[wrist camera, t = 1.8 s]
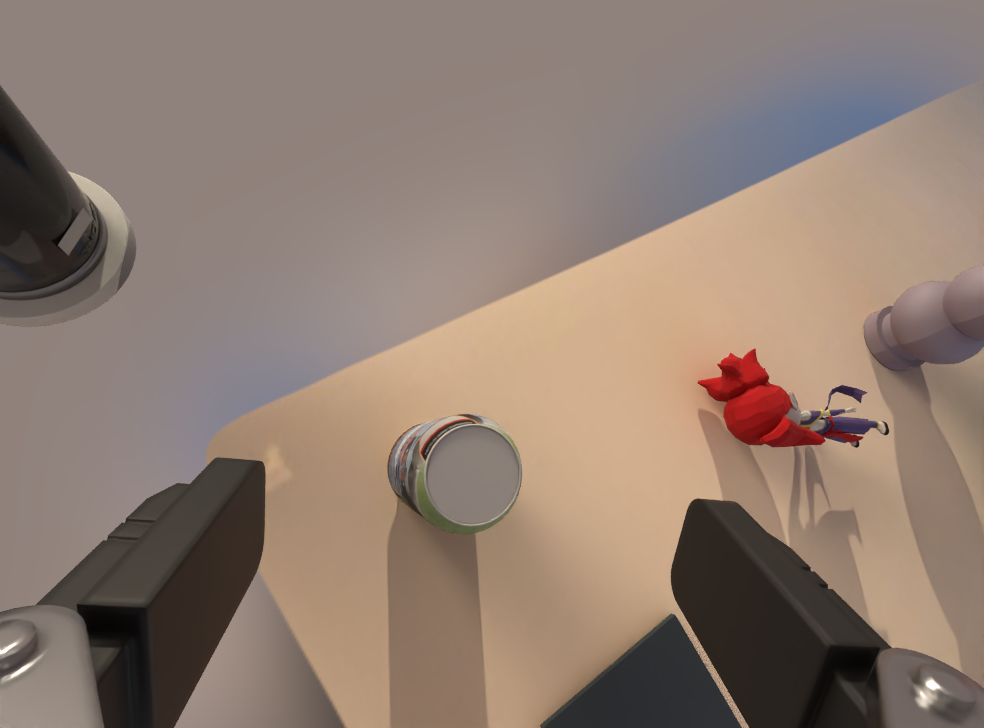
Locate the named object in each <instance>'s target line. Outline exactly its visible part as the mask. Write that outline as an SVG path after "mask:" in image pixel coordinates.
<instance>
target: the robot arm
mask: <svg viewBox="0 0 984 728" xmlns="http://www.w3.org/2000/svg"><path fill="white" fill-rule="evenodd" d="M107 241H108V232H107V226H106V223H105V220H104V218H103V216H102V214H101V212H100V211H99V209H98V208H97V207H96V205H95V204H94V203H93V201H92V200H91V199H90V198H89V197H88V196H87V195H86V194H85V193H84V192H83V191H82V190H81V189H80V187H79V186H78V185H77V184H76V182H75V181H74V180H73V178H72V177H71V175H70V174H69V173H68V172H67V170H66V169H65V168H64V167H63V165H62V164H61V163H60V161H59V160H58V159H57V158H56V156H55V155H54V154H53V152H52V151H51V150H50V149H49V147H48V146H47V145H46V144H45V142H44V141H43V140H42V138H41V137H40V136H39V134H38V133H37V132H36V131H35V129H34V128H33V127H32V125H31V124H30V123H29V122H28V120H27V119H26V118H25V117H24V115H23V114H22V113H21V111H20V110H19V109H18V108H17V106H16V105H15V104H14V102H13V101H12V100H11V99H10V97H9V96H8V95H7V93H6V92H5V91H4V90H3V88H2V87H1V86H0V299H6V300H33V299H40V298H45V297H49V296H52V295H56V294H58V293H61V292H63V291H66V290H68V289H70V288H72V287H73V286H75V285H77V284H78V283H80V282H81V281H83V280H84V279H85V278H86V277H87V276H89V275H90V274H91V273H92V272H93V270H94V269H95V268H96V267H97V266H98V264H99V263H100V261H101V259H102V257H103V255H104V253H105V250H106V247H107ZM264 528H265V466H264V463H263V462H262V461H255V460H243V459H231V458H215V459H214V460H213V461H212V462H211V463H210V464H209V465H208V466H207V467H206V468H205V469H204V470H203V471H202V472H201V473H200V474H199V475H198V476H197V477H196V478H195V480H194V481H193V482H192V483H191V484H181V483H177V484H175V485H173V486H171V487H169V488H167V489H165V490H163V491H161V492H159V493H157V494H155V495H153V496H151V497H149V498H147V499H146V500H145V501H144V502H143V503H142V504H141V505H140V506H139V507H138V508H137V509H136V510H135V511H134V512H133V513H132V514H130V516H128V517H127V518H126V522H125V523H121V524H120V525H119V526H118V527H117V528H116V529H115V530H114V531H113V532H112V533H111V534H109V535H108V539H107V541H102V542H101V543H100V544H99V545H98V546H97V547H96V548H95V549H94V550H93V551H92V552H91V553H90V554H88V555H87V556H86V557H85V558H84V559H83V560H82V561H81V562H80V563H79V564H78V565H77V566H76V567H75V568H74V569H73V570H72V571H71V572H70V573H69V574H67V576H65V577H64V578H63V579H62V580H61V581H60V582H59V583H58V584H57V585H56V586H55V587H54V588H53V589H52V590H51V591H50V592H49V593H48V594H47V595H45V596H44V598H42V599H41V600H40V601H39V602H38V603H37V604H36V605H34V606H26V607H20V608H14V609H10V610H7V611H3V612H0V728H174V726H175V725H176V722H177V721H178V719H179V717H180V715H181V713H182V711H183V710H184V708H185V706H186V704H187V702H188V700H189V698H190V696H191V695H192V693H193V691H194V689H195V687H196V685H197V683H198V681H199V680H200V678H201V676H202V673H203V672H204V670H205V668H206V666H207V664H208V663H209V661H210V659H211V657H212V655H213V653H214V651H215V649H216V648H217V646H218V644H219V641H220V640H221V638H222V636H223V634H224V633H225V631H226V629H227V627H228V625H229V623H230V621H231V619H232V617H233V616H234V614H235V612H236V610H237V608H238V606H239V604H240V602H241V600H242V599H243V597H244V595H245V593H246V591H247V589H248V587H249V586H250V584H251V581H252V580H253V578H254V576H255V574H256V572H257V569H258V566H259V563H260V560H261V556H262V551H263V545H264ZM671 585H672V591H673V594H674V597H675V600H676V602H677V604H678V605H679V607H680V609H681V611H682V612H683V614H684V616H685V618H686V619H687V621H688V623H689V624H690V626H691V628H692V630H693V631H694V633H695V635H696V637H697V638H698V640H699V642H700V643H701V645H702V647H703V649H704V650H705V652H706V654H707V655H708V657H709V659H710V661H711V662H712V664H713V666H714V668H715V669H716V671H717V673H718V674H719V676H720V678H721V680H722V681H723V683H724V685H725V686H726V688H727V690H728V692H729V693H730V695H731V697H732V699H733V700H734V702H735V704H736V705H737V707H738V709H739V711H740V712H741V714H742V716H743V718H744V719H745V721H746V723H747V724H748V726H749V728H984V688H983V687H981V686H980V685H979V684H977V683H976V682H975V681H973V680H972V679H970V678H969V677H968V676H966V675H964V674H963V673H961V672H960V671H958V670H956V669H955V668H953V667H951V666H949V665H947V664H945V663H943V662H941V661H939V660H937V659H935V658H933V657H930V656H927V655H925V654H922V653H919V652H916V651H912V650H907V649H901V648H891V647H890V646H889V645H888V644H887V643H886V642H885V641H884V640H883V639H882V638H881V637H880V636H879V635H878V634H877V633H876V632H875V631H874V630H873V629H872V628H871V627H870V626H869V625H868V624H867V623H866V622H865V621H864V620H863V619H862V618H861V617H860V616H859V615H858V614H857V613H856V612H855V611H854V610H853V609H852V608H851V607H850V606H849V605H848V604H847V603H846V602H845V601H844V600H843V599H842V598H841V597H840V596H839V595H838V594H837V593H836V592H835V591H834V590H833V589H828V584H827V583H826V582H825V581H824V580H823V579H822V578H821V577H820V576H819V575H817V574H816V573H815V572H812V571H811V570H810V567H809V566H808V565H807V564H806V563H805V562H804V561H803V560H802V559H801V558H800V557H799V556H798V555H797V554H796V553H795V552H794V551H793V550H792V549H791V548H790V547H789V546H787V545H786V544H784V543H782V542H781V541H779V540H778V539H776V538H775V537H773V536H772V535H770V534H769V533H767V532H766V531H765V530H764V529H763V528H762V527H761V526H760V525H759V524H758V523H757V522H756V521H755V520H754V519H753V518H752V517H751V516H750V515H749V514H748V513H747V512H746V511H745V510H744V509H743V508H742V507H741V506H740V505H739V504H738V503H736V502H732V501H720V500H708V499H695V500H693V501H692V502H691V503H690V505H689V507H688V509H687V513H686V516H685V520H684V524H683V527H682V531H681V535H680V538H679V542H678V546H677V549H676V553H675V557H674V560H673V564H672V569H671Z"/></svg>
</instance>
